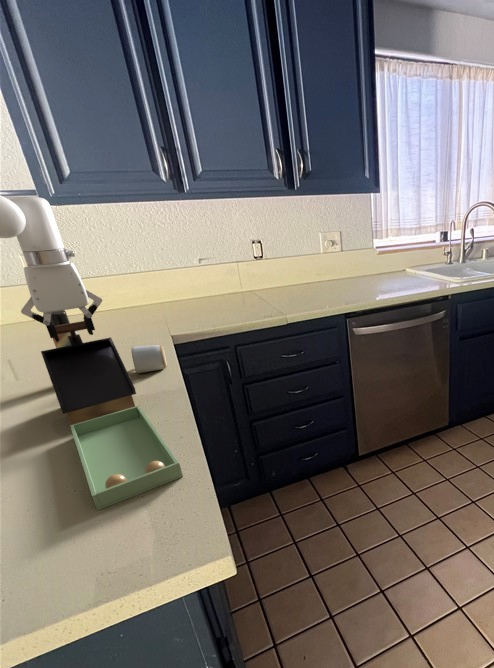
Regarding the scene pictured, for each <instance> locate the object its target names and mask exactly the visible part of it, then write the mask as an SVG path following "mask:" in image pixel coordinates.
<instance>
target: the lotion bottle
mask: <svg viewBox="0 0 494 668" xmlns="http://www.w3.org/2000/svg"><path fill="white" fill-rule="evenodd" d="M51 322H52V323H53V324H54V326H57V325H63V324H69V323H71V322H70V320H69V316H68V314H67V312H66V310H62V311H56V312H52V313H51ZM75 333H76V335H77V334H79V333H78V331H75ZM68 336H71V334H70V332H68V333H63V334H58V337H59V340H60V341H58V342H56V340H55V338H52V341H53V344H54V346H55V348H60V347H65V346H70V345H71V344H70V342H69V339H68Z"/></svg>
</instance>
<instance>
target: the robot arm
mask: <svg viewBox="0 0 494 668" xmlns="http://www.w3.org/2000/svg"><path fill="white" fill-rule="evenodd" d="M15 237H16V239H17V241H18V245H19V247H20V250H21V252H22V255H23V257H24V260H25V263H26V266H24V267H23V271H24V278H25V281H26V286H27V288H28V292H29V294H30V297H29V299H28V300H27V301H26V303H24V305H23V306H22V308H21V310H20V313H21V314H22V315H24V316H26V317H28V318H30V319H32V320H34V321H37V322H39V323H41V324H43V325H44V326H45V327H46V330H47V332H48V334H49V337H50V339H53V338H55V340H56V342H58V341H60V340H59V337H58V335H57V332H56V329H55V327H54V324H53V323H52V322H51V313H52V312H56V311H62V310H65V311H66V310H67V311H68V310H73V309H79V310H80V312H81V313H82V314H83V319H82V320H83V321H85V323H86V326H87V329H86V330H87V333H88V335H90V336H93V335H94V332H93V331H96V328H95V325H94V322H93V319H92V318H93V315H94V314H95V312H96V311H97V310H98V308H99V307H100V305H101V304H102V302H103V298H101V297H100V296H98V295H96V294H95V293H93V292H91V291H89V290H87V289H86V287H85V286H84V282H83V281H82V278H81V276H80V274H79V271H78V269H77V267H76V266H75V264H74V261H73V262H72V261H70V259H72V258H75V257H76V254H75V252H74V250H67V249H66V248H65V246H64V243H63V240H62V237H61V233H60V231H59V227H58V224H57V221H56V219H55V216H54V212H53V210H52V207H51V204H50V202H49V201H48V200H47V199H46V198H43V197H39V196H31V197H29V196H28V197H27V196H25V197H11V198H7V197H5V196H3V195H0V239H12V238H15ZM90 300H92V302H91V304H90V305H89V303H90ZM88 305H89V307H88V308H87V307H86V306H88ZM33 307H35V309H36V310H37V311H38V312H39V313H42V315H41V314H39V313H36V312H34V311H32V309H33Z"/></svg>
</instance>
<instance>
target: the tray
mask: <svg viewBox="0 0 494 668" xmlns="http://www.w3.org/2000/svg"><path fill="white" fill-rule="evenodd" d="M69 427H70V430H71V433H72V438H73V440H74V443H75V447H76V449H77V453H78V456H79V460H80V463H81V467H82V469H83V472H84V476H85V479H86V482H87V485H88V488H89V491H90V495H91V497H92V500H93V503H94V506H95V508H96V510H97V511H100V510H102V509H105V508H108V507H110V506H113V505H115V504H118V503H121V502H122V501H126V500H128V499H130V498H134V497H136V496H138V495H141V494H143V493H145V492H148V491H151V490H153V489H155V488H158V487H161V486H163V485H166V484H168V483H171V482H173V481H175V480H178V479H181V478H183V477H184V475H183V471H182V468H181V464H180V462H179V460H178V459H177V458H176V456H175V454H174V453H173V452H172V450H171V448H170V447H169V446H168V445H167V443H166V442H165V440H164V439H163V438H162V436H161V435H160V433H159V432H158V430H157V429H156V427H155V426H154V425H153V423H152V422H151V420H150V419H149V417H148V416H147V415H146V413H145V412H144V410H143V409H142V407H141V406H140V405H135V407H132V408H129V409H125V410H122V411H118V412H115V413H111V414H108V415H104V416H101V417H97V418H94V419H91V420H87V421H84V422H80V423H77V424H73V425H71V424H70V425H69ZM152 461H160V462H162V463H163V464H164V465H165V467H163V468H160V469H158V470H155V471H152V472H150V473H147V474H145V468H146V466H147V465H148V464H149V463H150V462H152ZM114 474H120V475H123V476H124V477H125V478H126V479H127V481H126V482H123V483H121V484H118V485H115V486H113V487H110V488H107V489H106V488H105V482H106V480H107V479H108V478H109V477H110V476H112V475H114Z"/></svg>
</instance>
